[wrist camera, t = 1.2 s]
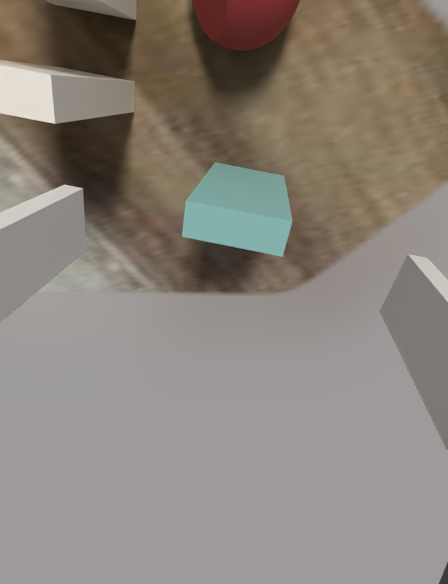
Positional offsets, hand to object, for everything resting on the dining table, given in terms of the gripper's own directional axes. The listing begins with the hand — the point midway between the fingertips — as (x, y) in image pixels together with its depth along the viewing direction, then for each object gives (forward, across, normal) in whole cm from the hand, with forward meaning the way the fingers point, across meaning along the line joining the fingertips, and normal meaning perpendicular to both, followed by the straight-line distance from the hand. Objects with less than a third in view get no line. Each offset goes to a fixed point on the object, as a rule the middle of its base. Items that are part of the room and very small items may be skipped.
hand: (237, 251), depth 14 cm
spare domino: (+12, 0, 0) cm, 13 cm away
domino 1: (+12, -11, +4) cm, 17 cm away
